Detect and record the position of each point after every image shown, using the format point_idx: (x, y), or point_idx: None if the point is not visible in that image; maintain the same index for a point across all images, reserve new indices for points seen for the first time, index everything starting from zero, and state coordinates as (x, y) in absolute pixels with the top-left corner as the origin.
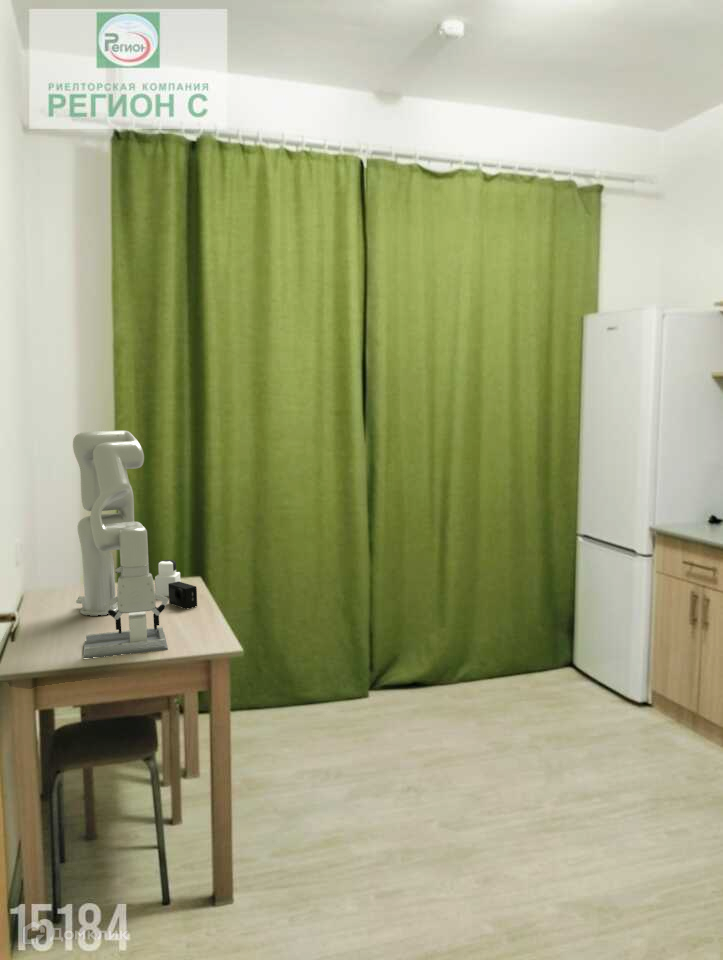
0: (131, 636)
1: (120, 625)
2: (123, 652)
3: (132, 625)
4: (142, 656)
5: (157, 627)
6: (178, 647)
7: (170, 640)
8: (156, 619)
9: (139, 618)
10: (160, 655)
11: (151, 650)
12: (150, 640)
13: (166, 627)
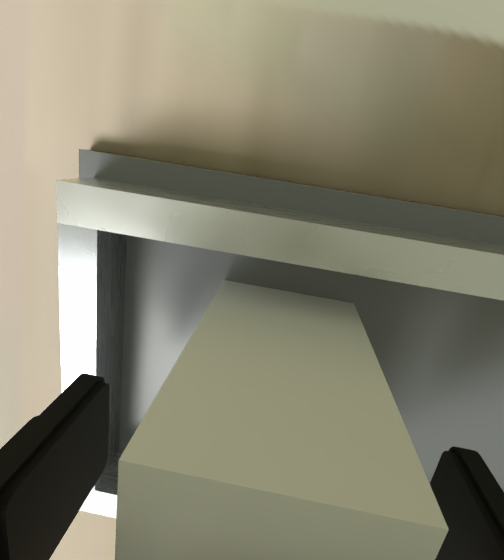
0: (358, 344)
1: (497, 529)
2: (443, 213)
3: (364, 425)
4: (307, 78)
5: (98, 510)
6: (8, 163)
7: (58, 343)
8: (4, 450)
9: (243, 492)
10: (159, 22)
11: (212, 170)
12: (190, 235)
13: (68, 557)
